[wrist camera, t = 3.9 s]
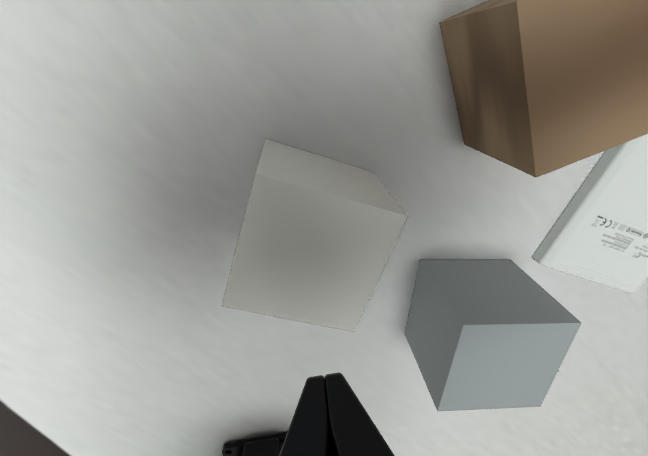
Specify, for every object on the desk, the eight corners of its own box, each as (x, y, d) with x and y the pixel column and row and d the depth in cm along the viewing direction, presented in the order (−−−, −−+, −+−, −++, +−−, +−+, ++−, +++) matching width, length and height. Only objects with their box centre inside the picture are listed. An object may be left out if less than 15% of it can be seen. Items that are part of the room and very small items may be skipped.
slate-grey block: (485, 331, 24) (540, 406, 19) (404, 332, 24) (437, 411, 18) (509, 259, 22) (581, 322, 16) (419, 258, 21) (463, 325, 16)
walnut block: (574, 98, 18) (697, 114, 12) (463, 143, 18) (535, 177, 13) (567, -35, 15) (720, -88, 10) (438, 22, 16) (516, 1, 10)
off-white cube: (337, 262, 21) (354, 333, 15) (239, 239, 20) (220, 307, 14) (374, 171, 18) (408, 216, 13) (265, 137, 17) (254, 172, 12)
